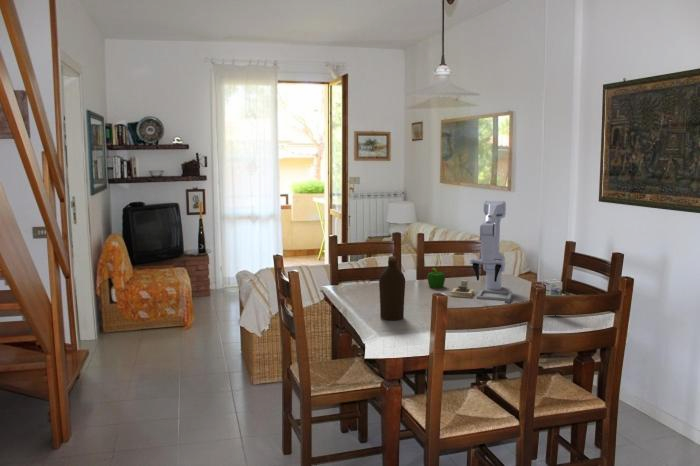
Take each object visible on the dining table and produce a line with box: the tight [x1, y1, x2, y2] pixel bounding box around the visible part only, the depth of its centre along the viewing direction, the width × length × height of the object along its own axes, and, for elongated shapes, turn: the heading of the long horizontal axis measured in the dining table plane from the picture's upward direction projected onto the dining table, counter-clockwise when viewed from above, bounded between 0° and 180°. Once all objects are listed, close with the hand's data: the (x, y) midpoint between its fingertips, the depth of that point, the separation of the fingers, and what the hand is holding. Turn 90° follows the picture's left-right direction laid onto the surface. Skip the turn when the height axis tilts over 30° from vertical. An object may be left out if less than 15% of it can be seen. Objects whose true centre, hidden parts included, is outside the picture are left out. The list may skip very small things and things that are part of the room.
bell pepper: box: [427, 267, 446, 289], centre depth 305 cm, size 8×8×10 cm
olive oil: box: [378, 255, 406, 321], centre depth 250 cm, size 11×11×25 cm
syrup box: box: [542, 278, 563, 296], centre depth 254 cm, size 6×6×14 cm
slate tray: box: [476, 289, 513, 304], centre depth 285 cm, size 14×14×2 cm
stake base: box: [447, 285, 479, 299], centre depth 289 cm, size 12×12×5 cm
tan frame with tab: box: [450, 279, 475, 299], centre depth 288 cm, size 12×9×6 cm
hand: (486, 280), depth 274 cm, fingers open, 7 cm apart
